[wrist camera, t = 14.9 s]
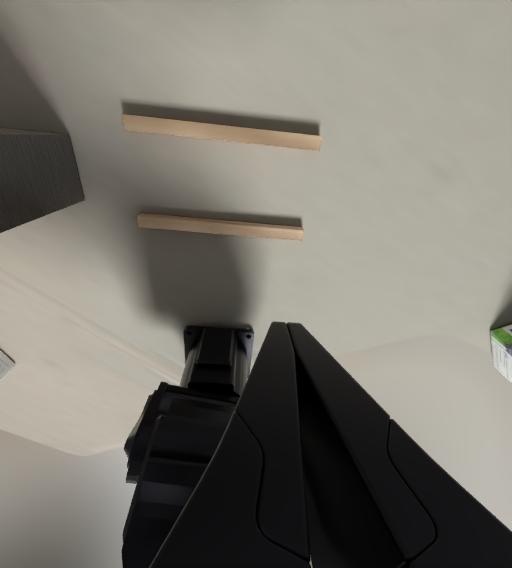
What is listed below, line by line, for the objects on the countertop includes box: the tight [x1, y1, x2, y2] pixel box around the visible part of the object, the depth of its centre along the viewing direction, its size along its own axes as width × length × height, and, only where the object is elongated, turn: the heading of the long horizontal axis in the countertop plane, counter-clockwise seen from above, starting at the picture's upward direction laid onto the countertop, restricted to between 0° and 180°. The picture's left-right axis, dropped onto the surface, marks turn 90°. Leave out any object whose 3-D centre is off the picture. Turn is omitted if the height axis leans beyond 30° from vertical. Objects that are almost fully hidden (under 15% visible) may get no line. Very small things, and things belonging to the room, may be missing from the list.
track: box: [122, 114, 323, 241], centre depth 17 cm, size 7×12×1 cm, turn 85°
